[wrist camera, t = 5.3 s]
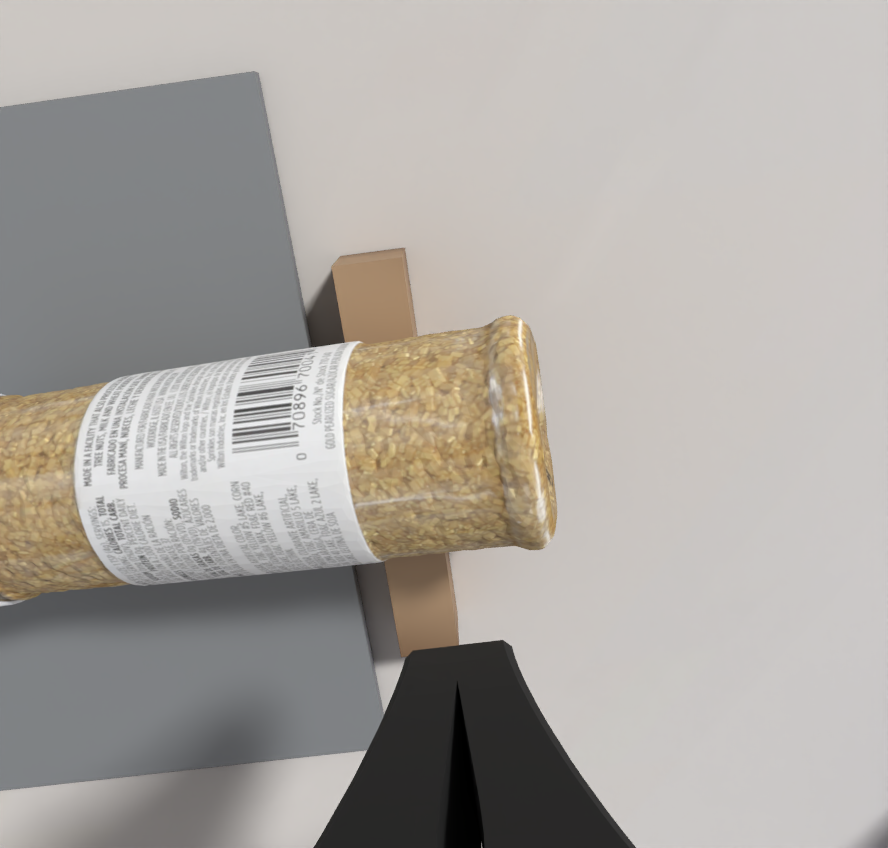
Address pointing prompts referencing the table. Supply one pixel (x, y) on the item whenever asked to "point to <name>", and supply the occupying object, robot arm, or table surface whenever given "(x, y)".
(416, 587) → the walnut rail
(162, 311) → the rubber mat
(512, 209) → the table surface
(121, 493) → the sprinkles bottle
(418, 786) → the robot arm
